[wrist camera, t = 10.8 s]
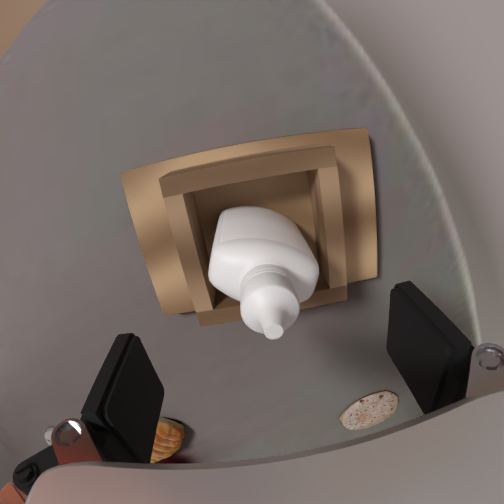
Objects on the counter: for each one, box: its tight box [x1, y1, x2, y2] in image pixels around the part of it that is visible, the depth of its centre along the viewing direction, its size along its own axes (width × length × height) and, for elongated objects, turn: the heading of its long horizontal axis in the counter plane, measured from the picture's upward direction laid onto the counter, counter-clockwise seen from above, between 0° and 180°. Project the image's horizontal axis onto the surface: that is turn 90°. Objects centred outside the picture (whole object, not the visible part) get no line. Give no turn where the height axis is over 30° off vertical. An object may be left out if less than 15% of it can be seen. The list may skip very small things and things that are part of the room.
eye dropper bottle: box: [208, 206, 319, 339], centre depth 16 cm, size 4×6×12 cm
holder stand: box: [120, 128, 377, 326], centre depth 21 cm, size 12×18×5 cm, turn 100°
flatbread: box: [340, 391, 398, 430], centre depth 33 cm, size 8×8×1 cm
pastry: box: [150, 417, 184, 463], centre depth 32 cm, size 9×7×4 cm
